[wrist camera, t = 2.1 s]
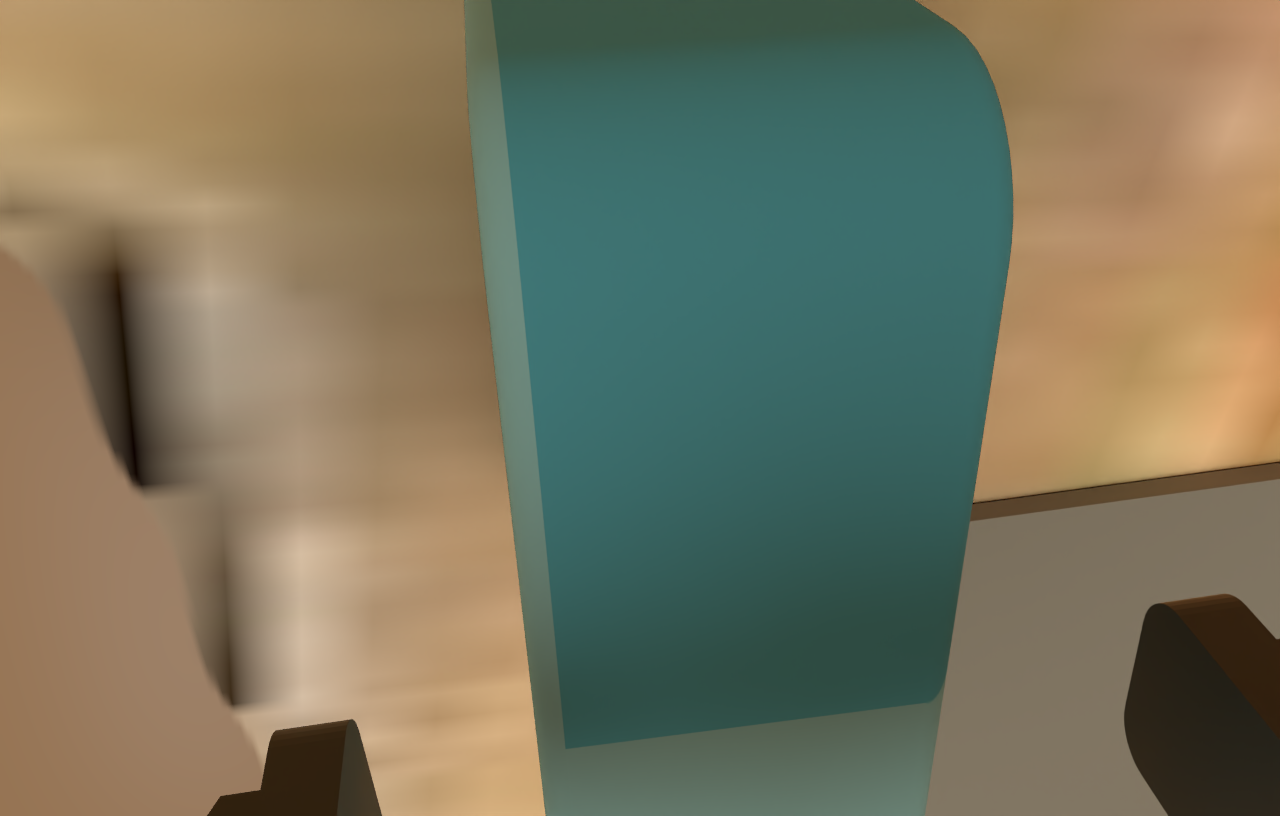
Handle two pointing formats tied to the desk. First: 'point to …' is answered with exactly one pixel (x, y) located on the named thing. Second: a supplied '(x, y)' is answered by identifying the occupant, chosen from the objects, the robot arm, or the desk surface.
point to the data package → (738, 385)
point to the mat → (1084, 632)
